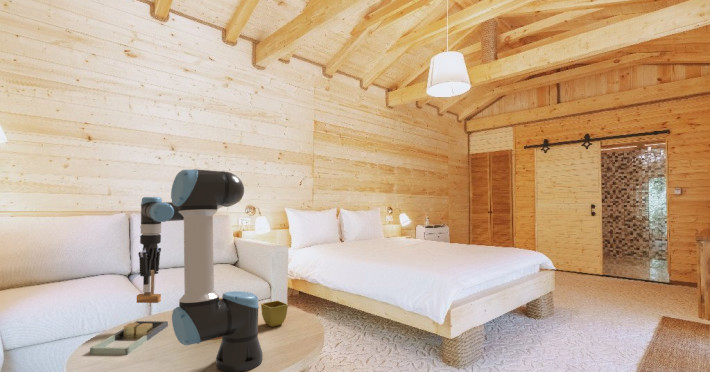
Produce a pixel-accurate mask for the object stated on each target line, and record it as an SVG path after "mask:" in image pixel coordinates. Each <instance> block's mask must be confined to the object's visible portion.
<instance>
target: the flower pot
mask: <svg viewBox="0 0 710 372" xmlns="http://www.w3.org/2000/svg"><path fill="white" fill-rule="evenodd" d="M260 305H261V306H260V309H261V315H262V318H263V322H264V323H265V324H266V325H267V326H270V327H271V328H273V327H277V326H281V325H283V323H285V320H286V317H287V313H288V307H289V304H288V303H286V302H283V301H281V300H273V301H268V302H264V303H260Z"/></svg>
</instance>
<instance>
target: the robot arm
mask: <svg viewBox="0 0 710 372" xmlns="http://www.w3.org/2000/svg"><path fill="white" fill-rule="evenodd" d="M171 186H172V187H171V189H170V190H171V192H170V199H171V202H170V201H169V202H164V201H163V200H162V198H161V197H160V196H144V197H142V198H141V202H140V203H141V204H140V226H139V227H140V234H141V235H139V237H140V238H139V243H140V245H142V251H139V252H138V258H139V260H138V261H139V276H140V277H143V281H142V282H143V283H142V285H143V286H142V288H143V289H142V293H144V292H151V276H150V270H155V271H154V291H155V290H156V275H158V274H159V272H160V271H159V270H160V259H161V252H162V248H161V247H159V245H158V244H161V243H162V241H161V240H162V235H161V233H162V223H164V222H177V221H183V245H184V246H183V256H184V258H183V261H184V262H183V264H184V265H183V268H184V270H183V272H184V275H183V276H184V278H183V279H184V281H183V282H184V294H182V295H183V296H181V297H180V298H179V301H178V302H179V305H178V306H176V307H175V308H174V309H173V310H172V313H171V323H172V328H173V329H172V330H173V332H174V335H175V337H176V339H177V340H178V342H179V343H180V344H181V345H184V346H190V345H191V346H192V345H196V344H197V345H198V344H200V343H204V342H207V341H211V340H215V339H218V338H221V342H220V345H219V348H218V351H217V354H216V357H215V367H216V368H217V370H220V371H223V372H245V371H249V370H252V369H254V368H256V367H258V366H259V365H261V363H262V362H263V358H264V357H263V356H264V355H263V350H262V347H261V344H260V343H261V342H260V340H259V336H258V335H259V334H258V333H259V331H258V330H259V328H258V327H259V326H258V325H259V308H260V307H259V306H260V305H259V298H258V296H257V295H256V294H254V293H253V292H249V291H247V292H246V291H238V290H237V291H236V290H235V291H234V290H233V291H227V292H224V293H223V294H222V296H221V298H220V294H218V293H217V292H216V291H215V285H214V284H215V274H214V222H213V221H214V220H213V216H214V215H215V214H216V213H217V211H218V209H221V208H225V207H226V208H229V207H233V206H234V205H236V204H238V203H239V202H241V200H242V199H243V197H244V194H245V186H244V183H243V181H242V179H240V177H238V176H237V175H236V174H234V173H232V172H229V171H224V170H222V171H220V170H219V171H218V170H209V169H207V170H206V169H196V168H195V169H182V170H180V171H179V172H178V173H177V174H176V176H175V177H174V180H173V182H172V185H171Z"/></svg>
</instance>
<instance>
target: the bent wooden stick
mask: <svg viewBox="0 0 710 372" xmlns="http://www.w3.org/2000/svg"><path fill="white" fill-rule="evenodd" d="M154 271H155V270H150V276H151V292H143V293H139V294H137V295H136V303H138V304H140V303H142V304H144V303H145V304H146V303H147V304H150V303H151V304H159V303H160V302H161V301H162V293H155V290H154Z"/></svg>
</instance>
